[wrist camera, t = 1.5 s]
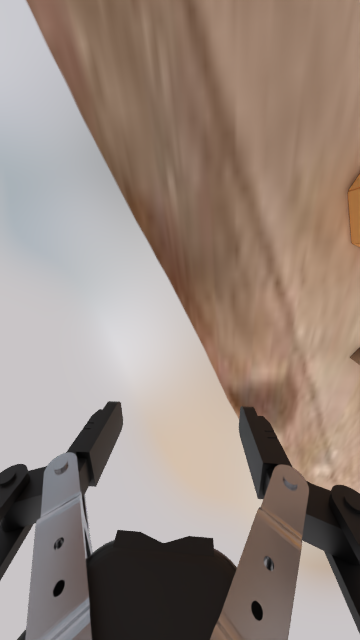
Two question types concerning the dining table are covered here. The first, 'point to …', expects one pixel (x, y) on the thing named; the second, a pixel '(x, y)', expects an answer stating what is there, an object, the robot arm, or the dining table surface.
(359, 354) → the hook stand
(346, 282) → the dining table surface
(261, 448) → the robot arm
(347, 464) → the dining table surface
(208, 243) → the dining table surface
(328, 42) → the dining table surface
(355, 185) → the orange octagonal ring
